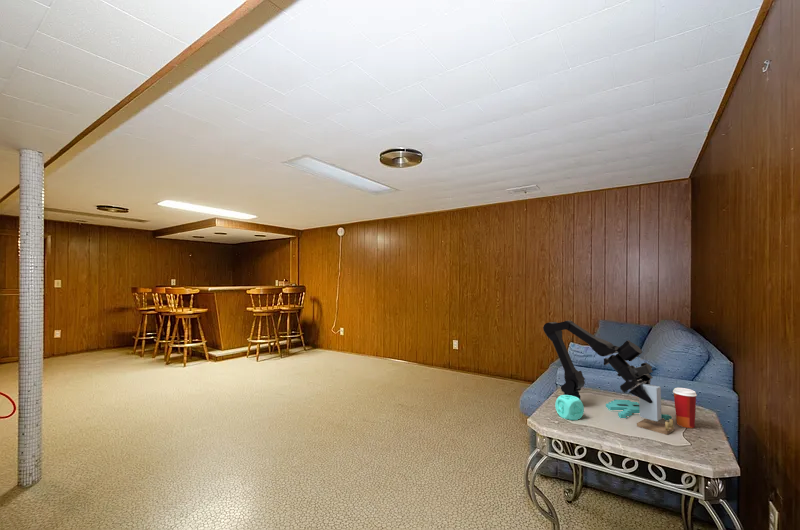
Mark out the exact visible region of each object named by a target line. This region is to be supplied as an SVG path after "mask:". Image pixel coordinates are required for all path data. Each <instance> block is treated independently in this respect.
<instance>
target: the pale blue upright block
mask: <svg viewBox="0 0 800 530" xmlns="http://www.w3.org/2000/svg"><path fill="white" fill-rule="evenodd" d="M661 388H662V387H661V386H659V385H655V384H654V385H653V384H651V383H650V384H645V383H643V389H644V390H645V392H646V393H647V394H648V396H649V397H650V398H651V400H652V401H653V402H652V403H649V402H647V401H645V400H643V399H641V398H639V397H638V399H639V400H638V401H639V402H638V403H639V410H640V414H639V418H643V419H648V420H651V421H655V422H659V421H660V420H662V418H661V414H662V389H661Z"/></svg>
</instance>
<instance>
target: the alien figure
mask: <svg viewBox="0 0 800 530" xmlns="http://www.w3.org/2000/svg"><path fill="white" fill-rule="evenodd" d="M606 407H607V408H608V409H607V408H606ZM605 408H606V409H607V410H609V409H610V410H623V411H617V417H618V416H619V417H618V418H620V419H621V418H626V419H627V417H626V416H629V417H630V416H633V414H632V413H640V410H639V402H638V401H631V400H629V399H613V400H610V401H608V403H605ZM610 410H609V411H610ZM629 414H630V415H629ZM662 418H664V419H665V420H664V419H663V420H664V421H666V420H669V419H673V416H671V415H670V414H665V413H664V414H663V413H661V419H662Z"/></svg>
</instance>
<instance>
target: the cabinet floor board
mask: <svg viewBox="0 0 800 530" xmlns="http://www.w3.org/2000/svg"><path fill="white" fill-rule="evenodd" d="M664 421H665V422H664V423H662V422H659V421H654V420H650V419H646V418H643V419H642V420H639V421H638V422H636V427H638V428H642V429H645V430H649V431H652V432H656V433H659V434H664V435H669V434H670V433H672V432H673V431H674V430H675V426H674V419H673V418H672V419H669V421H666V420H664Z"/></svg>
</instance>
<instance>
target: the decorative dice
mask: <svg viewBox="0 0 800 530" xmlns="http://www.w3.org/2000/svg"><path fill="white" fill-rule="evenodd" d="M554 405H555V406H554V407H555V410H556V412H557V414H558V416H559V417H560V418H562V419H564V418H565V420H568V419H569V420H568V421H578V419H579V420H580V419H581V418H582V417H583V415H584V412H585V407H584V403H583V401H582V400H580V399H579V398H578V397H575V396H571V395H564V394H561V395H559V396H558V397H557V398H556V400H555V403H554Z"/></svg>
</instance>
